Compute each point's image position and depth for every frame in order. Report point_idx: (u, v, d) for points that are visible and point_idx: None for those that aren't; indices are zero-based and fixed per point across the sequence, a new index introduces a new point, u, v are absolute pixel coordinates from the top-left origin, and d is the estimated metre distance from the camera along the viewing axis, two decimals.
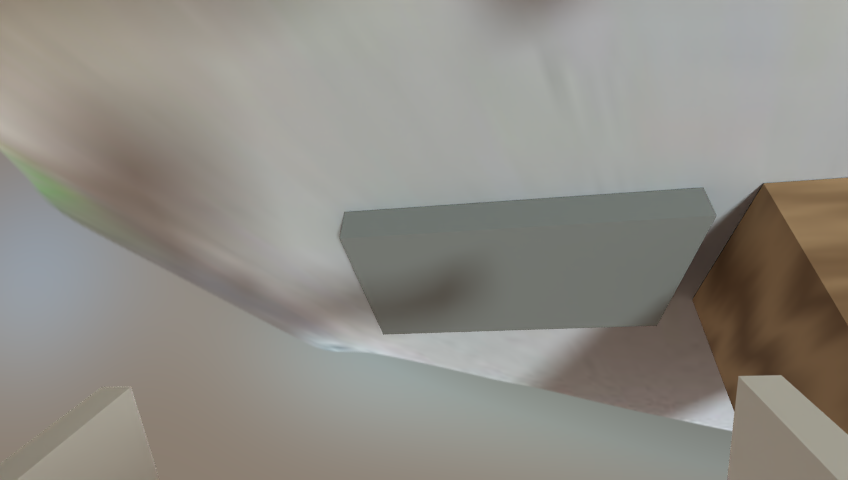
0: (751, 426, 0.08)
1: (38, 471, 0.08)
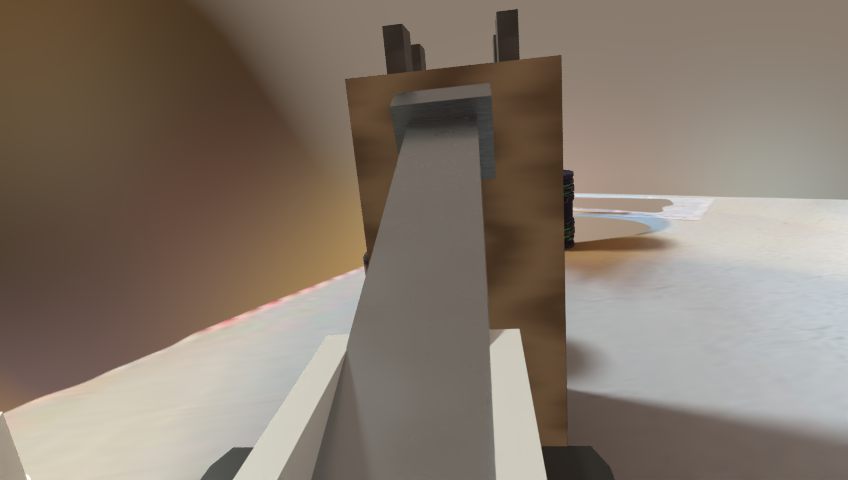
0: None
1: (326, 394, 0.10)
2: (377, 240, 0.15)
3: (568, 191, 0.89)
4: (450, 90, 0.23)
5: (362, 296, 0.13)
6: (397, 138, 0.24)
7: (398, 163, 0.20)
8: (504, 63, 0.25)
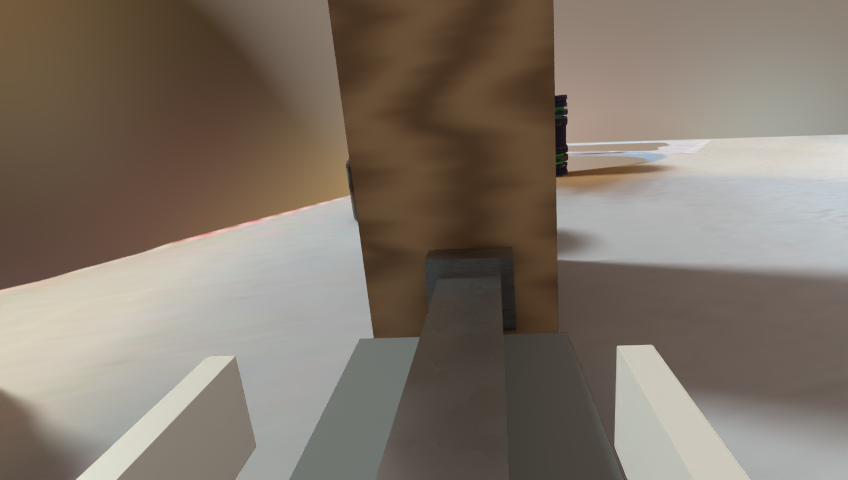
0: (623, 387, 0.10)
1: (177, 424, 0.09)
2: (408, 377, 0.17)
3: (561, 113, 0.86)
4: (477, 251, 0.27)
5: (393, 427, 0.14)
6: (428, 288, 0.27)
7: (429, 310, 0.22)
8: None
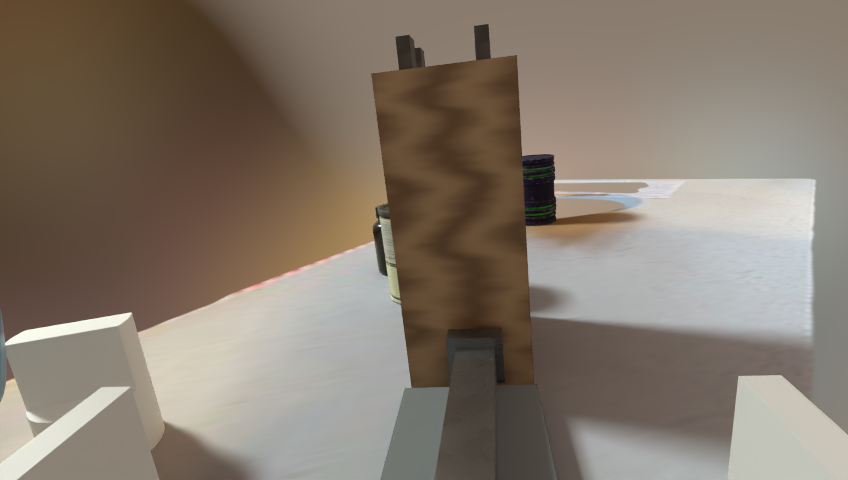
0: (751, 426, 0.08)
1: (38, 471, 0.08)
2: (444, 421, 0.32)
3: (549, 172, 1.02)
4: (479, 331, 0.42)
5: (440, 448, 0.29)
6: (449, 356, 0.42)
7: (451, 376, 0.37)
8: (479, 61, 0.37)
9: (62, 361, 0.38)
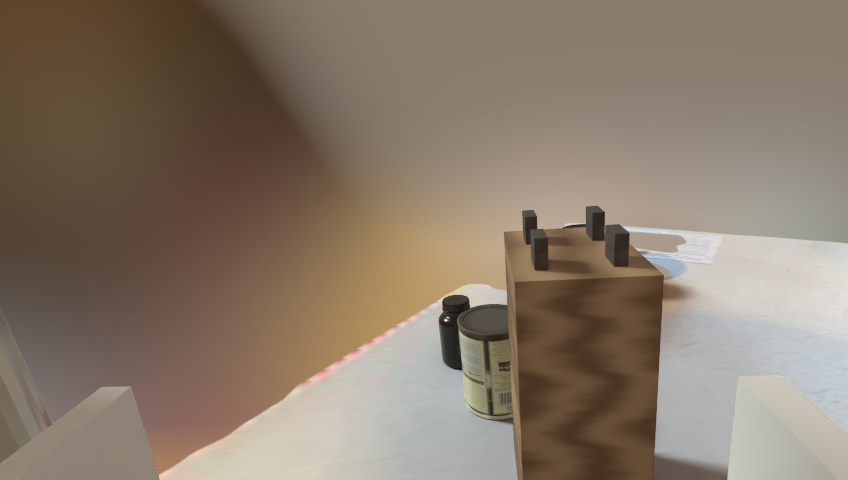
0: (751, 426, 0.08)
1: (38, 471, 0.08)
2: None
3: None
4: None
5: None
6: None
7: None
8: (625, 278, 0.38)
9: None
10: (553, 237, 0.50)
